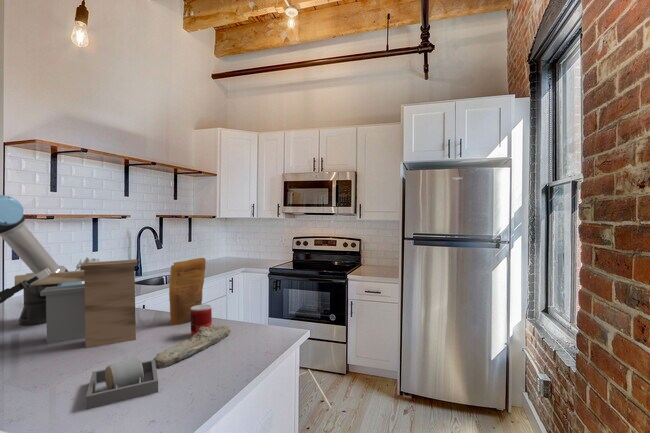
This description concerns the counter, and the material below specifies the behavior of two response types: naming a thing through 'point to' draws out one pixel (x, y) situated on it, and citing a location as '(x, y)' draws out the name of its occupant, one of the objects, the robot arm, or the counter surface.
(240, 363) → the counter surface
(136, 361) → the white cylinder
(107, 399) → the frame
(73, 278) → the oak beam
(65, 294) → the tall grey box
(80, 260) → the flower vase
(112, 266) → the walnut pedestal
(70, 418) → the counter surface
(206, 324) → the canned food
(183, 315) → the pancake mix bag
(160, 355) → the long grey stone
